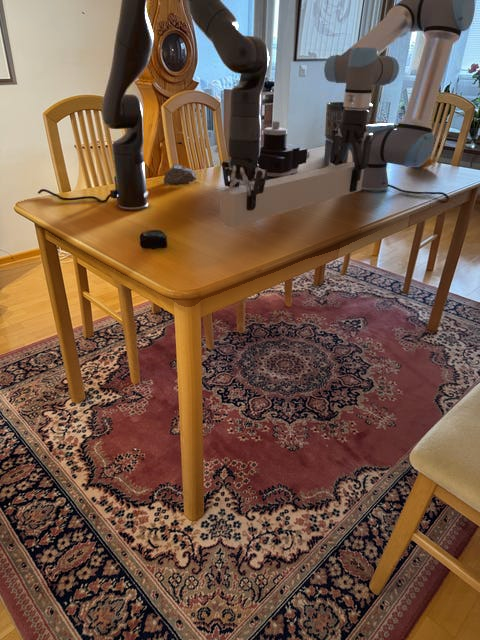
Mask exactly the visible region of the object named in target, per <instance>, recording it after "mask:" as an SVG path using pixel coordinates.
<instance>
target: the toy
mask: <svg viewBox="0 0 480 640" xmlns="http://www.w3.org/2000/svg"><path fill="white" fill-rule="evenodd" d="M434 164H435V160H434V159H433V158H430V157H429V158H428V159H427V160H426V162H425V163H424V164H422V165H421V166H419V167H418V168H421V169H422V168H423V169H424V168H426V167H430V166H433V165H434Z"/></svg>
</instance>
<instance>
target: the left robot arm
mask: <svg viewBox="0 0 480 640" xmlns="http://www.w3.org/2000/svg"><path fill="white" fill-rule="evenodd" d="M147 1H148V0H121V5H120V11H119V17H118V24H117V27H116V28H117V29H116V34H115V40H114V44H113V45H114V47H113V54H112V61H111V67H110V72H109V76H108V80H107V83H106V87H105V91H104V95H103V99H102V103H101V104H102V105H101V115H102V116H101V117H102V120H103V123H104V125H105V126H106V127H107V128H109V129H111V130H125V133H124V134H123V135H122V136H121V137H120V138H118V139H116V140H114V141H113V142H112V144H111V149H112V159H113V165H114V174H115V176H114V178H113V180H114V188H115V189H110V190H109V194H108V195H107V196H106V197H105V199H103V200H102V199H100V198H99V197H97V196H93V195H85V196H77V197H64V196H61V195H59V194H57V193H54V192H53V191H50V190H48V189H45V188H41V189H40V190H38V192H37V194H38V195H39V194H41V193H42V192H45V193H47V194H50V195H51V196H54V197H56V198H58V199H59V200H62V201H77V200H79V201H80V200H87V199H88V200H89V199H90V200H91V199H92V200H96V201H98V202H99V203H102V204H105V203H107V202H108V201H109V200H110V198H111V199H113V200H114V199H116V204H117V205H116V206H117V207H118V208H119V209H120V210H123V211H131V212H132V211H141V210H144V209H147V208H148V207H149V202H148V195H149V190H147V181H146V169H145V157H144V115H143V107H142V103H141V101H140V98H139V97H138V95H136V94H130V93H129V94H126V93H127V91H128V89H129V88H130V87H131V86H132V84H134V82H135V81H136V80H137V79H138V78H139V77H140V76H141V75H142V74H143V72H144V71H145V70H146V68H147V67H148V66H149V62H150V59H151V54H152V51H153V48H154V47H153V46H154V31H153V27H152V25H151V20H150V17H149V14H148V10H147ZM185 2H186V5H187V10H188V13H189V16H190V17H191V19H192V21H193V22H194V24H195V25H196V27H197V28H198V29H199V30H200V31H201V32H202V33H203V34H204V36H206V38H207V39H208V40H209V41H210V42H211V43H212V45H213V48H214V49H215V51H216V53H217V55H218V57H219V58H220V60H221V62H222V63H223V65H224V66H225V67H226V68H227V69H229V70H230V71H231V72H232V73H235V74H240V76H239V81H238V83H237V85H235V86H233V87H232V88H231V89H230V92H229V93H230V95H229V121H228V156H229V157H230V160H227V161H222V162H221V169H222V177H223V182H224V186H225V187H228V189H229V188H233V187H238V186H241V184H242V182H243V185H244V186H245V187H246V189H247V193H248V196H247V210H249V211H251V210H254V209H255V207H256V195H257V194H261V193H263V190H264V186H265V181H266V180H267V177H268V176H267V170H266V169H264V170H262V169H260V168H259V166H258V163H257V160H258V157H259V156H260V147H261V135H262V122H261V120H262V119H261V109H262V108H261V107H262V92H263V90H264V87H265V82H266V77H267V73H268V69H269V61H270V56H269V55H270V54H269V50H268V46H267V43H266V42H265V41H264V39H263V38H261V37H259V36H255V35H254V36H253V35H243V34H242V33H241V32H240V31H239V29H238V28H239V24H238V20H237V18H236V16H235V15H234V14H233V13H232V11H231V10H230V9H229V8H228V7H227V6H226V5H225V4H224V3H223V1H221V0H185ZM251 186H252V189H253V190H252V189H251Z"/></svg>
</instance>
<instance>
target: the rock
mask: <svg viewBox="0 0 480 640" xmlns="http://www.w3.org/2000/svg"><path fill="white" fill-rule="evenodd" d="M197 180H198V178H197V174H196V172H195V171H194V170H192V169H191V168H188V167H186V166H183V165H180V164H178V163H174V164H173V166H172V167H170V168H169V169H168V170H167V171H166V172H165V174H164V177H163V183H164V185H169V186H180V185H184V186H185V185H190V184H189V183H191V182H194V181H197Z"/></svg>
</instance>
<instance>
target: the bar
mask: <svg viewBox="0 0 480 640" xmlns="http://www.w3.org/2000/svg"><path fill="white" fill-rule="evenodd" d="M354 169H355V164H354V162H352V161H349V162H348V161H347V163H344V164H339V165H331V166H325V167H321V168H316V169H312V170H308V171H302V172H297V173H294V174H291V175H286V176H284V177H280V176H278V177H275V178H270V179H266V181H265V186H264V190H263V193H261V194H257V195H256V207H255V209H254V210H251V211H249V210H247V196H248V193H247V189H246V187H245V186H244V184H243V185H240V186H238V187H233V188H229V187H228V188H225V189H220V192H219V196H220V197H219V214H220V215H219V221H220V223H221V224H223V225H225V226H228V227H232V228H236V227H239V226H243V225H246V224H250V223H253V222H257V221H260V220H261V221H262V220H264V219H268V218H271V217H274V216H277V215H281V214H285V213H288V212H292V211H294V210H298V209H302V208H304V207H308V206H312V205H315V204H316V205H317V204H319V203H322V202H326V201H330V200H332V199H336V198H340V197H344V196H346V195H350V194H354V193H356V192H361V191H360V190H361V187H362V180H363V174H364V169H362V171H361V177H360V180H359V181H358V183H357V189H356V191H354V192H349V191H350V184H351V176H352V170H354ZM251 189H252V186H251ZM252 190H253V189H252Z"/></svg>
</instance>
